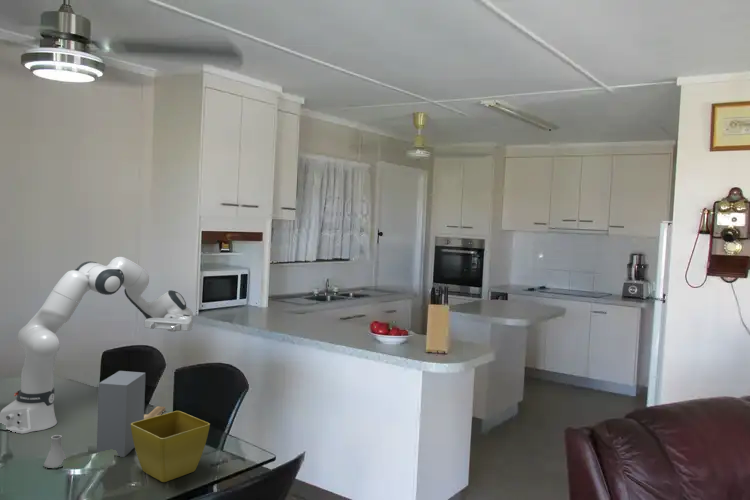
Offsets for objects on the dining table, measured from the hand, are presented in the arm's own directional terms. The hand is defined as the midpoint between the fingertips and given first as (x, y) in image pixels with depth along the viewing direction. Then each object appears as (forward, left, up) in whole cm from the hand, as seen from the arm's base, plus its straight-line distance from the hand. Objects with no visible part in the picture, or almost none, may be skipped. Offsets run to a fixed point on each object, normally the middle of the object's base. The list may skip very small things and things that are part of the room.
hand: (162, 327), depth 259 cm
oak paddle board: (+2, -14, -36) cm, 38 cm away
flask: (-12, -59, -36) cm, 70 cm away
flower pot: (+26, -57, -36) cm, 72 cm away
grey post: (+2, -41, -36) cm, 55 cm away
